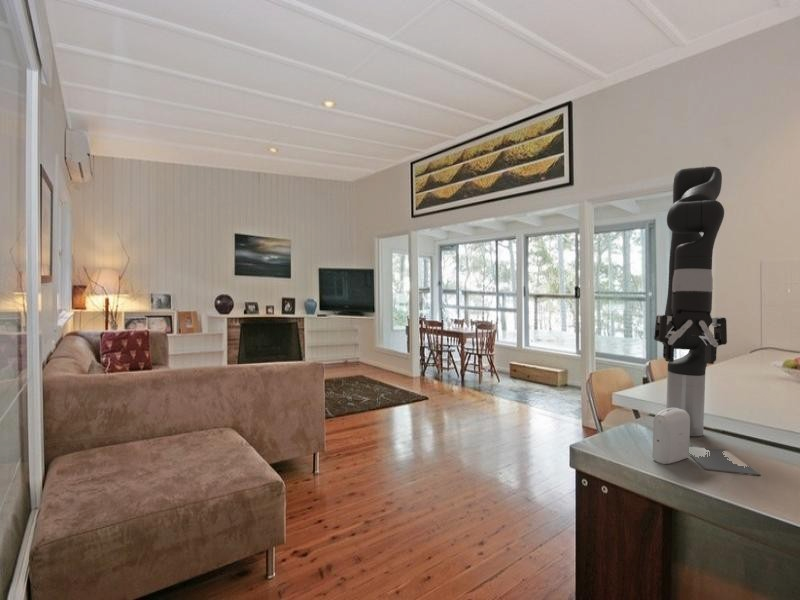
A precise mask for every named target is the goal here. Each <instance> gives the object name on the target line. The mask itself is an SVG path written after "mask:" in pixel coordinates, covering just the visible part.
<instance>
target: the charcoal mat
mask: <svg viewBox="0 0 800 600" xmlns="http://www.w3.org/2000/svg"><path fill="white" fill-rule="evenodd" d="M690 446H691V445H689V447H690ZM705 449H706V450H709V451H710V456H709V452H708V457H707V454H706V455H705V457H703V456H702V457H701V456H699V458H698V457H695V455H694V456H693V455H692V454H690V453H689V454H690V455H691V456H692V457H693V458H694V459H695V460H696V461H697V462H698V463H699V464H698V463H697V462H696V461H695V460H694V459H693V458H692V457H691V456H690V455H689V456H690V457H691V458H692V459H693V460H694V461H695V462H696V463H697V464H698V465H699V466H700V467H701V468H702V469H703V470H704V471H712V472H720V473H721V472H722V473H731V474H732V473H733V474H738V473H743V474H742V475H747V474H751V475H750V476H756V475H759V476H758V477H761V474H760V473H759V472H758V471H756V470H755V469H754V468H752V467H751V466H750V465H748V466H749V467H748V466H747V467H746V466H745V468H744V466H738V465H737V464H733V463H732V461H729V460H727V458H728V457H724V456H725V455H723V453H724V452H723V451H725V450H728V449H726V448H725V449H723V448H714V447H705ZM722 452H723V453H722ZM706 453H707V452H706ZM728 459H729V458H728Z"/></svg>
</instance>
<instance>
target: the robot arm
mask: <svg viewBox="0 0 800 600" xmlns="http://www.w3.org/2000/svg"><path fill="white" fill-rule="evenodd" d="M722 181H723V177H722V171H721V168H719V167H716V166H709V165H708V166H702V167H701V166H700V167H689V168H686V167H685V168H680V169H678V170H677V171H676V172H675V174H674V178H673V185H672V188H673V189H672V205H671V206H670V208H669V210H668V212H667V215H666V224H667V227H668V228H669V230H670V231H671V241H670V249H669V258H668V259H669V261H668V263H669V264H668V282H667V283H668V285H667V295H666V296H667V297H666V304H665V309H664V310H665V311H664V314H657V315H656V318H655V325H654V326H655V327H654V335H653V337H654V338H653V339H654V341H656V342H659V343H662V345H663V346H662V347H663V349H662V351H663V352H662V357H663V359H664V360H665V362H667V372H666V373H667V374H666V375H667V376H666V378H667V379H666V382H667V384H666V403H665V404H666V407H665V409H668V408H679V409H682V410H685V411H686V412H687V413H688V414H689V416H690V437H702V436H704V420H705V391H706V370H707V365H708V364H709V365H714V363H715V362H716V360H717V349H718V347H719V346H723V345H726V344H727V343H728V335H727V331H728V330H727V318H726V317H718V316H716V317H712V316H711V313H712V310H713V309H712V308H713V307H712V306H713V289H714V288H713V285H714V284H713V283H714V282H713V281H714V279H713V271H712V270H713V253H714V252H713V250H714V247H715V246H714V245H715V242H716V238H717V236H718V233H719V231H720V228H721V226H722V223H723V220H724V217H725V208H724V206H723V205H722V203H721V202H720V201H718V197H719V196H720V194H721V190H722V183H723V182H722ZM701 233H702V235H701ZM711 325H712V328H713V333H712V331H711V330H710V326H711ZM675 350H688V353H687V354H686V355H683V356H682V357H680V358H677V359H675V358H674V357H675V355H674V354H675Z"/></svg>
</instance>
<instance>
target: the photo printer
mask: <svg viewBox="0 0 800 600" xmlns="http://www.w3.org/2000/svg"><path fill="white" fill-rule="evenodd" d="M652 423H653V425H652V433H653V434H652V455H651V457H652V459H653V460H654V461H655V462H657V463H659V464H662V465H666V464H668V465H669V464H673V463H676V462H679V461H683V460H685V459H687V458H689V457H690V455H689V446H690V437H691V436H690V416H689V414H688V413H687V412H686V411H685V410H682V409H679V408H668V409H666V408H665V409H663V410H660V411H659V412H658V413H657V414H655V416H654V417H653V421H652Z"/></svg>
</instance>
